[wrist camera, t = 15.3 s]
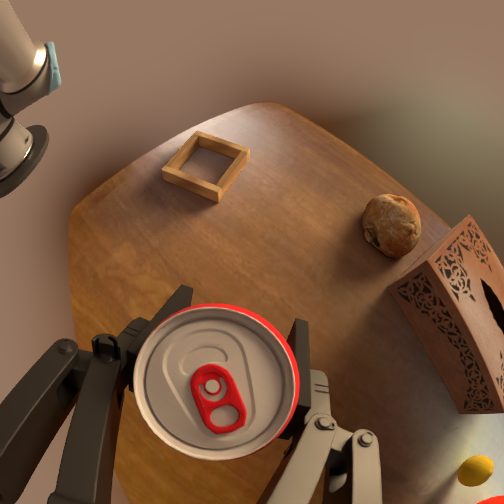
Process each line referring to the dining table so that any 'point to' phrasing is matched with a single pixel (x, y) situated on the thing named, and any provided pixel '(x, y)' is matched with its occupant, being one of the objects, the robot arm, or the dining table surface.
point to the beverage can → (216, 382)
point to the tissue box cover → (460, 315)
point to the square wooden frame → (199, 185)
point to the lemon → (475, 471)
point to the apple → (493, 500)
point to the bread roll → (392, 225)
